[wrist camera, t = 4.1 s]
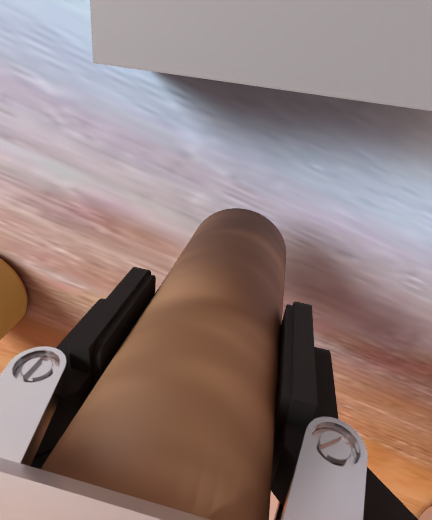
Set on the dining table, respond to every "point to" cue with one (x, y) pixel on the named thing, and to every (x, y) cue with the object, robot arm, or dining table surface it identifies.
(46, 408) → the robot arm
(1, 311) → the paper tube
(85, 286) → the dining table surface
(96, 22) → the socket
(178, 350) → the peg
